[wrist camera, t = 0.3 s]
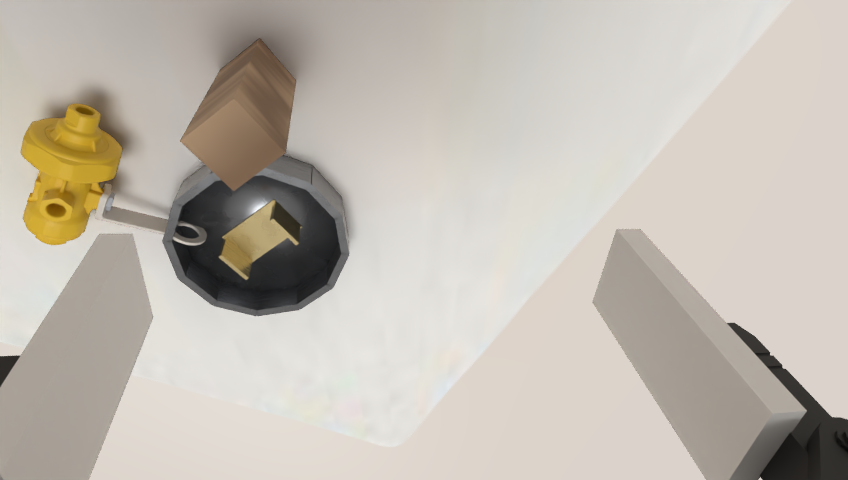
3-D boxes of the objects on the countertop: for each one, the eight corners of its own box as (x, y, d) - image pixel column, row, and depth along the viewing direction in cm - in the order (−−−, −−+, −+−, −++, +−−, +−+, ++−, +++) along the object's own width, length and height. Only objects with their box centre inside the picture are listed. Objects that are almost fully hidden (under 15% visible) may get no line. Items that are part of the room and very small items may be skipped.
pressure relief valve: (18, 205, 38) (46, 77, 34) (195, 245, 44) (237, 141, 40) (-6, 252, 34) (23, 113, 30) (193, 289, 40) (240, 178, 36)
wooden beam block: (220, 70, 36) (179, 140, 26) (259, 38, 35) (234, 98, 25) (257, 110, 38) (233, 191, 28) (296, 81, 37) (285, 152, 27)
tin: (136, 216, 41) (123, 240, 38) (267, 117, 38) (263, 134, 35) (259, 314, 47) (255, 341, 45) (377, 236, 45) (380, 258, 42)
